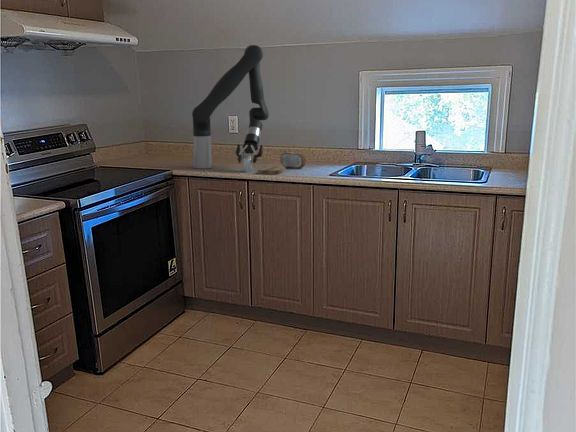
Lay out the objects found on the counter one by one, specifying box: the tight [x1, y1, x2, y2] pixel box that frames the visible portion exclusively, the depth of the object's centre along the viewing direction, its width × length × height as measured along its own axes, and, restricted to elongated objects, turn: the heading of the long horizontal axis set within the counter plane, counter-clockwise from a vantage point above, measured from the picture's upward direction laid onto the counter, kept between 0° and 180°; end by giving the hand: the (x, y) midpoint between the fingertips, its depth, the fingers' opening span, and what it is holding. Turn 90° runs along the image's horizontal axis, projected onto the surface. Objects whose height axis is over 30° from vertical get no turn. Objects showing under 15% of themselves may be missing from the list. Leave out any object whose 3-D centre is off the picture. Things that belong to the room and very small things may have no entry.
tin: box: [280, 151, 306, 169], centre depth 291 cm, size 15×3×8 cm, turn 56°
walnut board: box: [257, 165, 286, 175], centre depth 277 cm, size 11×14×2 cm
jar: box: [242, 154, 253, 173], centre depth 279 cm, size 5×5×8 cm
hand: (246, 162), depth 278 cm, fingers open, 7 cm apart
